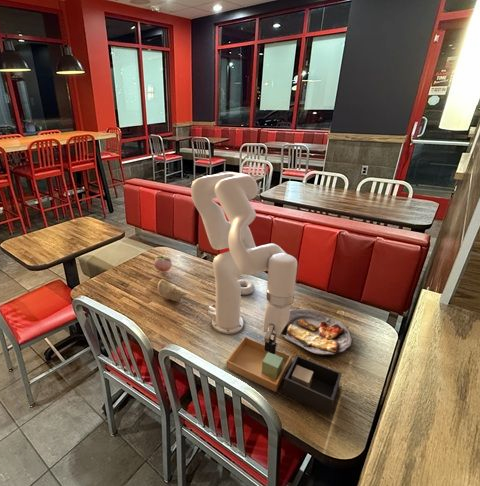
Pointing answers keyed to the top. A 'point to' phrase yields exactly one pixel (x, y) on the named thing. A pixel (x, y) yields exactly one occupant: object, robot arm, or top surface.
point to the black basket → (314, 385)
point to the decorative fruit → (162, 263)
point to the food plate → (317, 332)
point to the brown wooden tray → (255, 363)
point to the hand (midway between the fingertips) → (275, 342)
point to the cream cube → (302, 376)
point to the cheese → (170, 290)
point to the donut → (246, 287)
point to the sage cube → (272, 365)
